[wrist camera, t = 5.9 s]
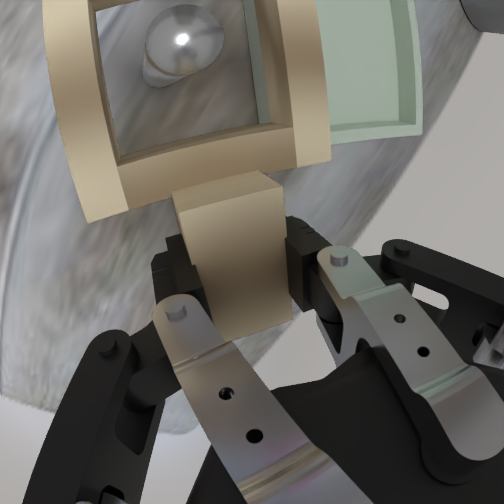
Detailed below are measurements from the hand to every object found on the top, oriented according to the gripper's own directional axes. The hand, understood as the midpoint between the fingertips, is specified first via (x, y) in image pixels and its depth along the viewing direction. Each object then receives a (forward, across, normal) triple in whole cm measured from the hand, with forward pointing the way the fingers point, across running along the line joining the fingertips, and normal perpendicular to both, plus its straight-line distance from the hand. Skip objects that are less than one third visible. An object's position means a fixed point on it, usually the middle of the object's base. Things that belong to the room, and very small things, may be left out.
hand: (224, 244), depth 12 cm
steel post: (+12, 0, -8) cm, 14 cm away
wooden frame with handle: (+2, 0, -4) cm, 5 cm away
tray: (+12, -14, -10) cm, 21 cm away
